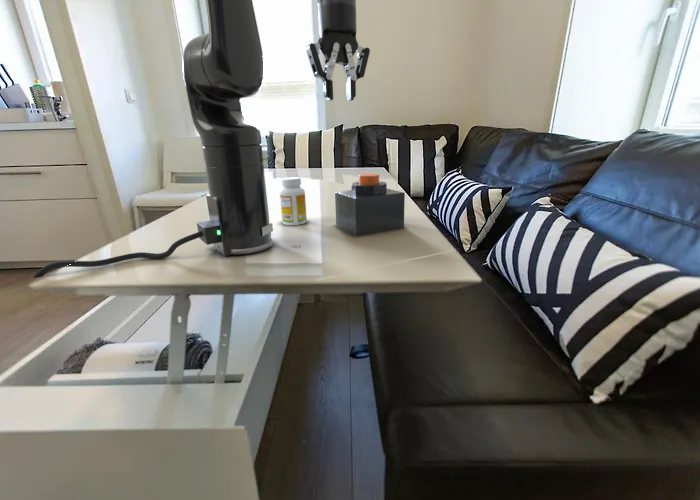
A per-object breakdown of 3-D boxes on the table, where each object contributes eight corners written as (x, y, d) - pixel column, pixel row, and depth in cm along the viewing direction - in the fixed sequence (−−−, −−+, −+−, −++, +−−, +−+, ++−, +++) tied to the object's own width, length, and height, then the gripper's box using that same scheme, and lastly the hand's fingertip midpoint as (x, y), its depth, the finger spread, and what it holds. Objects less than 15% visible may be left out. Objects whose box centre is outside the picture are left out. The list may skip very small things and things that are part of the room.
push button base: (356, 236, 68) (355, 188, 65) (336, 226, 75) (334, 183, 72) (404, 228, 72) (405, 183, 69) (380, 219, 80) (380, 178, 77)
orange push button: (365, 187, 69) (365, 176, 68) (355, 185, 72) (355, 174, 71) (382, 185, 70) (382, 175, 70) (372, 183, 74) (372, 173, 73)
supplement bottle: (305, 218, 82) (302, 176, 79) (308, 224, 77) (305, 179, 74) (281, 220, 81) (277, 177, 78) (283, 226, 76) (279, 180, 73)
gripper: (309, -4, 65) (315, 98, 70) (377, 5, 70) (378, 99, 76) (296, 8, 71) (302, 101, 76) (360, 16, 77) (361, 102, 82)
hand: (340, 99), depth 76 cm, fingers open, 4 cm apart
